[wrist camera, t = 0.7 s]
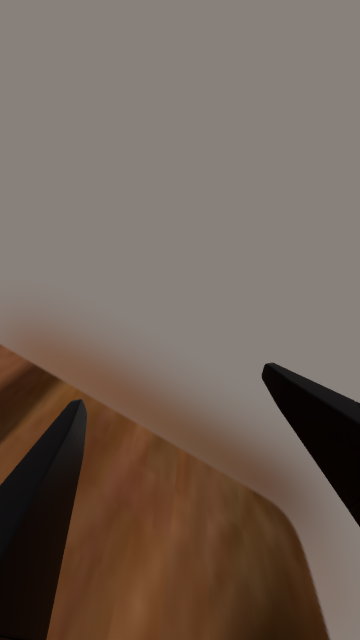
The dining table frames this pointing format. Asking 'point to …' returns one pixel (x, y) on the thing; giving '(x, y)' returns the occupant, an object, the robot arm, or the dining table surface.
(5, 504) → the robot arm
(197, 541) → the dining table surface
